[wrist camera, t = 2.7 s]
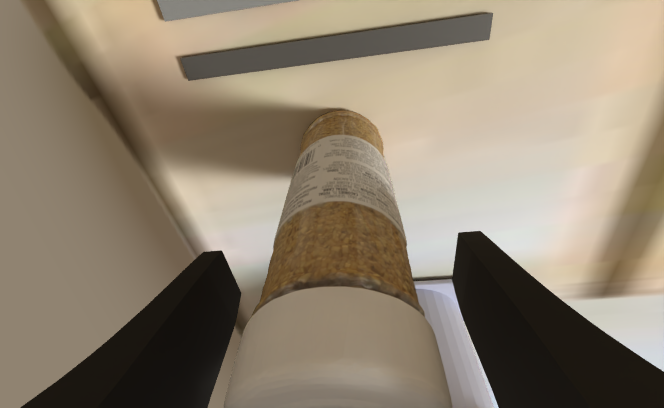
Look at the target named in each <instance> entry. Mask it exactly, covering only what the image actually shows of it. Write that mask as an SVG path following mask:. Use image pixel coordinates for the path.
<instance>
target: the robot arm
mask: <svg viewBox="0 0 664 408" xmlns="http://www.w3.org/2000/svg"><path fill="white" fill-rule="evenodd" d="M414 285H415V288H416V293H417V296H418V302H419V305H420V306H421V307H422V309H423V310H424V313H425V318H426V320H427V321H428V322H429V324H430V325H431V327H432V329H433V331H434V333H435V336H436V340H437V344H438V348H439V351H440V355H441V359H442V363H443V367H444V371H445V375H446V379H447V383H448V387H449V392H450V396H451V400H452V406H453V408H494V406H493V403H492V400H491V397H490V395H489V392H488V389H487V386H486V384H485V381H484V378H483V375H482V372H481V370H480V367H479V364H478V361H477V359H476V356H475V353H474V350H473V347H472V345H471V342H470V339H469V336H468V334H467V331H466V328H465V325H466V327H467V329H468V332H469V334H470V337H471V339H472V342H473V344H474V347H475V349H476V352H477V354H478V356H479V359H480V361H481V364H482V366H483V369H484V371H485V373H486V376H487V378H488V381H489V383H490V386H491V388H492V391H493V393H494V396H495V399H496V401H497V404H498V407H499V408H664V372H663V371H662V370H660V369H659V368H657V367H655V366H654V365H652V364H651V363H649V362H648V361H646V360H645V359H643V358H642V357H640V356H639V355H637V354H636V353H634V352H633V351H631V350H630V349H628V348H627V347H625V346H624V345H622V344H621V343H620V342H618V341H617V340H615V339H614V338H612V337H611V336H609V335H608V334H606V333H605V332H604V331H602V330H601V329H599V328H598V327H597V326H595V325H594V324H592V323H591V322H590V321H588V320H587V319H586V318H584V317H583V316H582V315H580V314H579V313H578V312H576V311H575V310H574V309H572V308H571V307H570V306H568V305H567V304H566V303H564V302H563V301H562V300H561V299H559V298H558V297H557V296H556V295H554V294H553V293H552V292H551V291H549V290H548V289H547V288H546V287H545V286H543V285H542V284H541V283H540V282H538V281H537V280H536V279H535V278H534V277H532V276H531V275H530V274H529V273H528V272H526V271H525V270H524V269H523V268H522V267H521V266H519V265H518V264H517V263H516V262H515V261H514V260H513V259H511V258H510V257H509V256H508V255H507V254H506V253H505V252H504V251H502V250H501V249H500V248H499V247H498V246H497V245H496V244H495V243H493V242H492V241H491V240H490V239H489V238H488V237H487V236H485V235H484V234H483V233H482V232H481V231H474V232H461V233H458V240H457V247H456V254H455V262H454V269H453V277H452V279H446V280H430V281H414ZM240 297H241V292H240V289H239V287H238V285H237V283H236V281H235V278H234V276H233V274H232V272H231V270H230V267H229V265H228V263H227V261H226V259H225V256H224V254H223V252H222V251H210V252H203V253H202V254H201V255H200V256H198V257H197V258H196V259H195V260H194V261H193V262H192V263H191V264H190V265H189V266H188V267H187V268H186V269H185V270H184V271H182V273H180V274H179V276H178V277H176V278H175V279H174V280H173V281H172V282H171V283H170V284H169V285H168V286H167V287H166V288H165V289H164V290H163V291H162V292H161V293H160V294H159V295H158V296H156V297H155V298H154V299H153V301H151V302H150V303H149V304H148V305H147V306H146V307H145V308H144V309H143V310H142V311H140V313H138V314H137V315H136V316H135V317H134V318H133V319H132V320H130V322H128V323H127V324H126V325H125V326H124V327H123V328H121V330H119V331H118V332H117V333H116V334H115V335H114V336H113V337H111V338H110V339H109V340H108V341H107V342H106V343H104V344H103V345H102V346H101V347H100V348H98V349H97V350H96V351H95V352H94V353H92V354H91V355H90V356H89V357H87V358H86V359H85V360H84V361H82V362H81V363H80V364H78V365H77V366H76V367H75V368H73V369H72V370H71V371H70V372H68V373H67V374H66V375H64V376H63V377H62V378H61V379H59V380H58V381H57V382H56V383H54V384H53V385H51V386H50V387H48V388H47V389H46V390H44V391H43V392H41V393H40V394H39V395H37V396H36V397H35V398H33V399H32V400H30V401H29V402H27V403H26V404H25V405H23V406H22V407H21V408H207V407H208V404H209V401H210V397H211V394H212V391H213V389H214V386H215V383H216V380H217V377H218V374H219V371H220V368H221V365H222V362H223V359H224V356H225V353H226V350H227V347H228V344H229V341H230V338H231V335H232V332H233V329H234V326H235V322H236V318H237V313H238V308H239V303H240ZM463 320H464V322H465V325H464V322H463Z"/></svg>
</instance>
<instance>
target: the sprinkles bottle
mask: <svg viewBox="0 0 664 408" xmlns="http://www.w3.org/2000/svg"><path fill="white" fill-rule="evenodd" d="M406 246H407V241H406V237H405V233H404V229H403V225H402V221H401V217H400V213H399V209H398V205H397V201H396V197H395V193H394V189H393V185H392V181H391V178H390V174H389V170H388V166H387V163H386V161H385V159H384V156H383V142H382V139H381V137H380V134H379V132H378V129H377V128H376V126H375V125H373V124H372V123H371V122H370V121H369V120H368V119H367V118H365V117H363V116H362V115H360V114H358V113H355V112H351V111H348V110H347V111H335V112H330V113H327V114H325V115H322V116H321V117H319V118H317V119H316V120H315V121H314V122H313V123H312V124H311V125H310V126H309V127H308V129H307V131H306V132H305V134H304V136H303V139H302V143H301V155H300V157H299V159H298V161H297V163H296V166H295V170H294V173H293V176H292V180H291V183H290V187H289V190H288V194H287V197H286V200H285V204H284V208H283V212H282V215H281V219H280V222H279V226H278V229H277V233H276V236H275V241H274V246H273V249H274V251H273V254H272V257H271V260H270V264H269V269H268V274H267V278H266V281H265V285H264V287H263V291H262V296H261V300H260V303H259V304H258V305H257V306H256V308H255V310H254V312H253V314H252V317H251V318H250V320H249V321H248V323H247V325H246V327H245V329H244V331H243V335H242V338H241V341H240V345H239V348H238V351H237V355H236V359H235V362H234V366H233V370H232V374H231V378H230V382H229V386H228V390H227V394H226V398H225V402H224V408H453V406H452V400H451V396H450V392H449V387H448V383H447V379H446V375H445V371H444V367H443V363H442V359H441V355H440V351H439V348H438V344H437V340H436V336H435V333H434V331H433V329H432V327H431V325H430V324H429V322H428V321H427V320H426V318H425V313H424V310H423V309H422V307H421V306H420V305H419V302H418V296H417V293H416V288H415V285H414V281H413V279H412V273H411V268H410V264H409V259H408V254H407V249H406Z"/></svg>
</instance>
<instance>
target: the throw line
mask: <svg viewBox="0 0 664 408" xmlns="http://www.w3.org/2000/svg"><path fill="white" fill-rule="evenodd" d="M492 17H493V13H485V14H478V15H471V16H464V17H457V18H450V19H443V20H436V21H429V22H423V23H416V24H409V25H402V26H395V27H388V28H381V29H374V30H367V31H361V32H354V33H347V34H340V35H333V36H326V37H319V38H312V39H305V40H298V41H292V42H285V43H278V44H271V45H264V46H257V47H250V48H243V49H236V50H230V51H223V52H216V53H209V54H202V55H195V56H188V57H182V58H180V59H181V62H182V65H183V67H184V70H185V73H186V75H187V78H188V81H190V80H197V79H205V78H212V77H219V76H227V75H234V74H241V73H249V72H256V71H263V70H271V69H278V68H285V67H293V66H300V65H307V64H315V63H322V62H329V61H337V60H344V59H351V58H359V57H366V56H373V55H381V54H388V53H395V52H403V51H410V50H417V49H425V48H432V47H439V46H447V45H454V44H461V43H469V42H476V41H483V40H489V38H490V31H491V24H492Z"/></svg>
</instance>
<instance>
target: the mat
mask: <svg viewBox="0 0 664 408" xmlns="http://www.w3.org/2000/svg"><path fill="white" fill-rule="evenodd" d="M291 1H298V0H157V2H158V4H159V7H160V10H161V12H162V15H163V17H164V20H165V21H172V20H178V19H184V18H191V17H197V16H203V15H209V14H216V13H222V12H228V11H235V10H241V9H247V8H253V7H260V6H266V5H272V4H279V3H285V2H291Z"/></svg>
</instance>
